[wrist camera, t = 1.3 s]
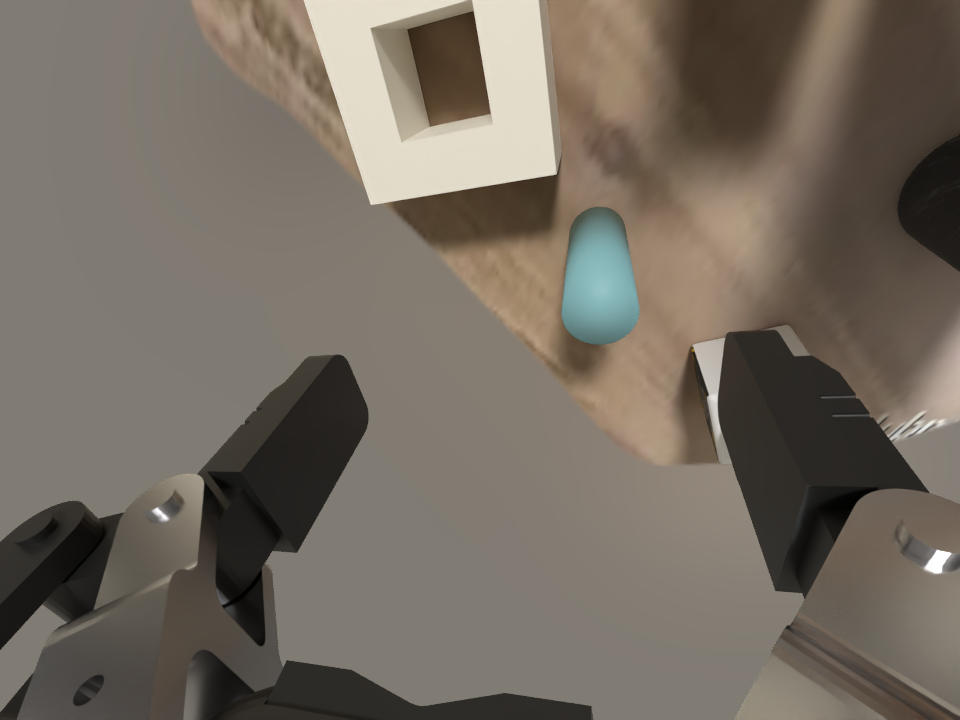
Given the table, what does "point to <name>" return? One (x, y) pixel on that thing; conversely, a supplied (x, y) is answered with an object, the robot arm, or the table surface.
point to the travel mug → (935, 203)
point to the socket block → (400, 105)
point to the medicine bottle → (708, 379)
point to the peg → (599, 279)
